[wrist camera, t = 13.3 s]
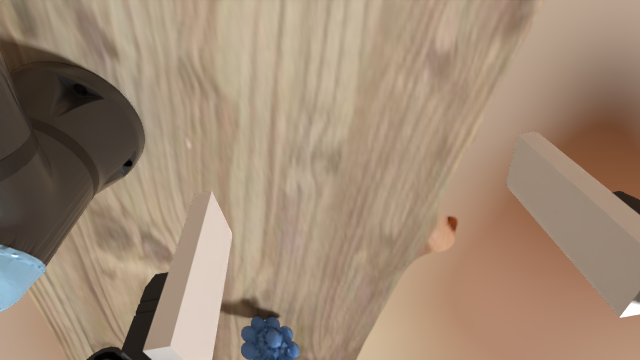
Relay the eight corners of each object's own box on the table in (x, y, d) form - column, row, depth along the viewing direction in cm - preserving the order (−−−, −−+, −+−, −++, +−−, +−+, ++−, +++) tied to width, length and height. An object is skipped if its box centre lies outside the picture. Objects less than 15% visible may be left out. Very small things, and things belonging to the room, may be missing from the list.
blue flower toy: (304, 308, 68) (308, 371, 58) (294, 326, 71) (296, 387, 62) (247, 302, 65) (241, 366, 55) (240, 320, 68) (233, 384, 59)
